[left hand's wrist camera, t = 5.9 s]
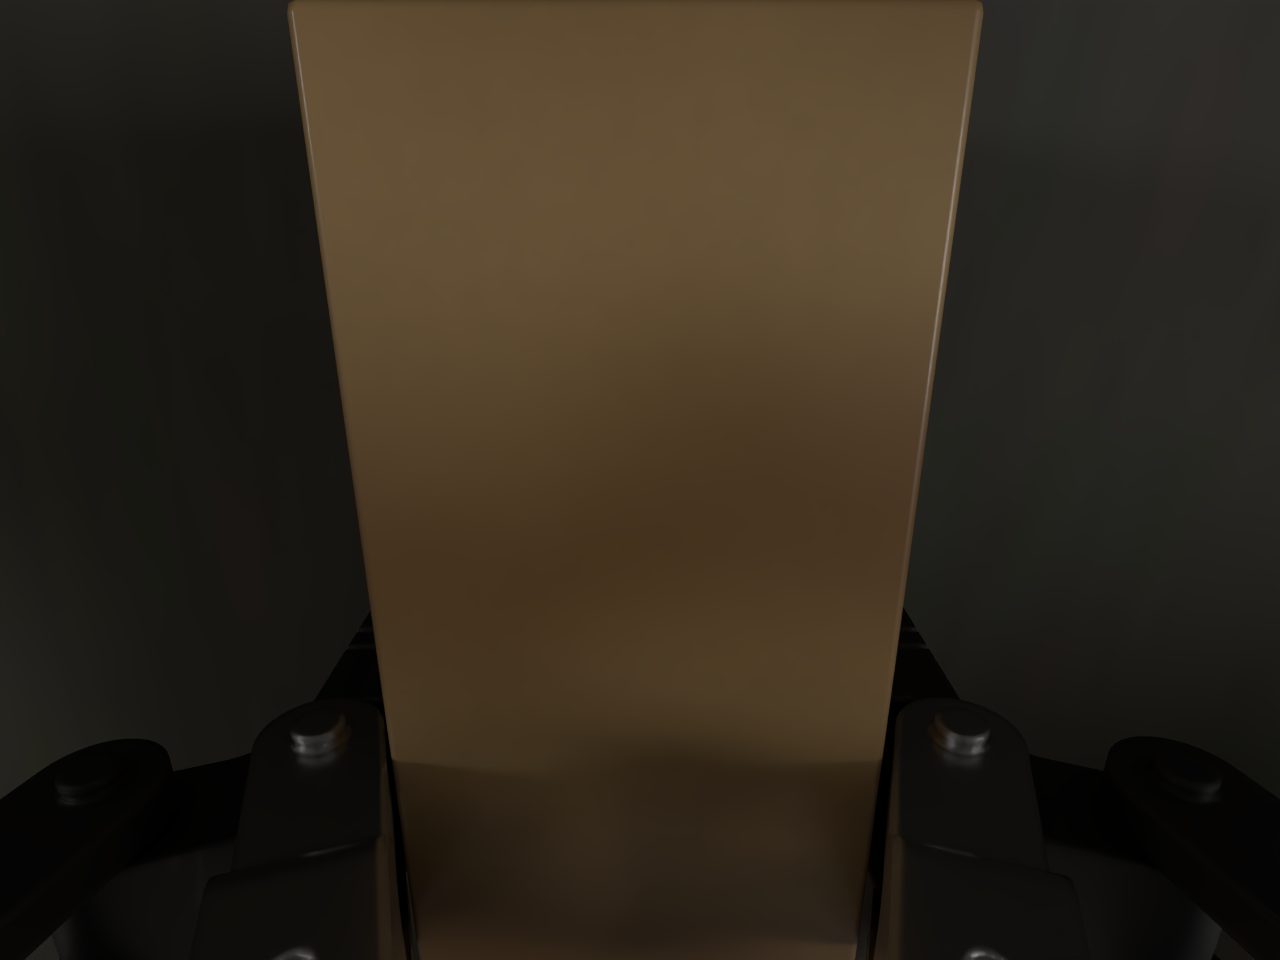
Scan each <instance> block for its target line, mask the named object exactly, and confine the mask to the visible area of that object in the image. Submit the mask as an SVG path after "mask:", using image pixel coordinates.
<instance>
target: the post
mask: <svg viewBox="0 0 1280 960" xmlns="http://www.w3.org/2000/svg"><path fill="white" fill-rule="evenodd" d="M287 15H288V22H289V30H290V37H291V44H292V51H293V58H294V65H295V72H296V80H297V87H298V94H299V101H300V108H301V115H302V122H303V130H304V137H305V144H306V151H307V158H308V165H309V172H310V180H311V187H312V194H313V201H314V208H315V215H316V222H317V230H318V237H319V244H320V251H321V258H322V265H323V272H324V280H325V287H326V294H327V301H328V308H329V315H330V323H331V330H332V337H333V344H334V351H335V358H336V365H337V373H338V380H339V387H340V394H341V401H342V408H343V415H344V423H345V430H346V437H347V444H348V451H349V458H350V465H351V473H352V480H353V487H354V494H355V501H356V508H357V515H358V523H359V530H360V537H361V544H362V551H363V558H364V565H365V573H366V580H367V587H368V594H369V601H370V608H371V615H372V623H373V630H374V637H375V644H376V651H377V658H378V666H379V673H380V680H381V687H382V694H383V701H384V708H385V716H386V723H387V730H388V737H389V744H390V751H391V758H392V766H393V773H394V780H395V787H396V794H397V801H398V808H399V816H400V823H401V830H402V837H403V844H404V851H405V858H406V866H407V873H408V880H409V887H410V894H411V901H412V908H413V916H414V923H415V930H416V937H417V944H418V951H419V958H420V960H855V957H856V950H857V943H858V935H859V928H860V921H861V913H862V906H863V898H864V891H865V884H866V876H867V869H868V862H869V854H870V847H871V839H872V832H873V825H874V817H875V810H876V802H877V795H878V788H879V780H880V773H881V766H882V758H883V751H884V743H885V736H886V729H887V721H888V714H889V707H890V699H891V692H892V684H893V677H894V670H895V662H896V655H897V647H898V640H899V633H900V625H901V618H902V611H903V603H904V596H905V588H906V581H907V574H908V566H909V559H910V552H911V544H912V537H913V529H914V522H915V515H916V507H917V500H918V493H919V485H920V478H921V470H922V463H923V456H924V448H925V441H926V433H927V426H928V419H929V411H930V404H931V397H932V389H933V382H934V374H935V367H936V360H937V352H938V345H939V338H940V330H941V323H942V315H943V308H944V301H945V293H946V286H947V278H948V271H949V264H950V256H951V249H952V242H953V234H954V227H955V219H956V212H957V205H958V197H959V190H960V183H961V175H962V168H963V160H964V153H965V146H966V138H967V131H968V123H969V116H970V109H971V101H972V94H973V87H974V79H975V72H976V64H977V57H978V50H979V42H980V35H981V28H982V20H983V6H982V2H980V1H978V0H294V1H292V2H290V3H289V4H288V11H287Z"/></svg>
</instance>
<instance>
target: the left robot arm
mask: <svg viewBox="0 0 1280 960" xmlns="http://www.w3.org/2000/svg"><path fill="white" fill-rule="evenodd" d="M359 629H360V631H359V632H357V633H356V635H355V636H354V638H353V640H352V641H351V643H350V644H349V650H346V651H345V652H344V654H343V656H342V657H341V659H340V660H339V662H338V664H337V665H336V667H335V668H334V670H333V672H332V673H331V675H330V676H329V678H328V680H327V681H326V683H325V684H324V686H323V688H322V689H321V691H320V692H319V694H318V695H317V697H316V699H315V700H314V701H312V702H309V703H306V704H303V705H300V706H298V707H295V708H293V709H291V710H289V711H287V712H285V713H283V714H282V715H280V716H278V717H277V718H276V719H274V720H273V721H271V722H270V723H269V724H268V725H267V726H266V727H265V728H264V729H263V730H262V731H261V732H260V734H259V735H258V737H257V738H256V740H255V742H254V745H253V748H252V753H249V754H246V755H244V756H241V757H237V758H233V759H230V760H226V761H221V762H216V763H212V764H207V765H202V766H198V767H193V768H188V769H184V770H179V771H174V772H173V769H172V765H171V762H170V758H169V755H168V753H167V751H166V749H165V748H164V747H163V746H161V745H160V744H158V743H156V742H153V741H150V740H144V739H121V740H113V741H108V742H103V743H100V744H96V745H93V746H89V747H87V748H84V749H81V750H78V751H76V752H74V753H71V754H69V755H67V756H65V757H63V758H61V759H59V760H57V761H55V762H54V763H52V764H50V765H49V766H47V767H46V768H44V769H43V770H41V771H40V772H38V773H37V774H35V775H34V776H33V777H31V778H30V779H28V780H27V781H26V782H24V783H23V784H21V785H20V786H19V787H17V788H16V789H14V790H13V791H12V792H10V793H9V794H7V795H6V796H5V797H3V798H2V799H0V960H24V959H26V958H27V957H28V956H29V955H30V954H31V953H32V952H33V951H34V950H35V949H36V948H37V947H38V946H40V945H41V944H42V943H43V942H44V941H45V940H46V939H47V938H48V937H49V936H50V935H52V938H53V940H54V943H55V946H56V949H57V951H58V954H59V957H60V960H414V954H413V941H412V928H411V915H410V902H409V895H408V888H407V881H406V870H407V866H406V858H405V851H404V844H403V837H402V830H401V823H400V816H399V808H398V801H397V794H396V787H395V780H394V773H393V766H392V758H391V751H390V744H389V737H388V730H387V723H386V716H385V708H384V701H383V694H382V687H381V680H380V673H379V666H378V658H377V651H376V644H375V637H374V630H373V623H372V615H371V611H370V612H369V614H368V616H367V617H366V619H365V620H364V622H363V624H362V625H361V627H360V628H359ZM868 871H869V874H870V877H871V880H872V883H873V888H872V895H871V902H870V915H869V928H868V941H867V954H866V960H1220V959H1219V958H1218V957H1217V956H1216V955H1215V954H1214V950H1215V948H1216V945H1217V942H1218V939H1219V936H1220V934H1221V931H1222V929H1223V930H1224V931H1225V932H1226V933H1227V934H1229V935H1230V936H1231V937H1232V938H1233V939H1234V940H1235V941H1236V942H1237V943H1238V944H1239V945H1240V946H1241V947H1243V948H1244V949H1245V950H1246V951H1247V952H1248V953H1249V954H1250V955H1251V956H1252V957H1253V958H1254V959H1256V960H1280V799H1278V798H1277V797H1275V796H1274V795H1273V794H1271V793H1270V792H1268V791H1267V790H1266V789H1264V788H1263V787H1261V786H1260V785H1259V784H1257V783H1256V782H1254V781H1253V780H1252V779H1250V778H1249V777H1247V776H1246V775H1245V774H1243V773H1242V772H1240V771H1239V770H1238V769H1236V768H1235V767H1233V766H1232V765H1230V764H1229V763H1227V762H1225V761H1224V760H1222V759H1220V758H1218V757H1216V756H1215V755H1213V754H1211V753H1208V752H1206V751H1204V750H1202V749H1199V748H1197V747H1194V746H1191V745H1188V744H1185V743H1182V742H1178V741H1175V740H1170V739H1165V738H1158V737H1131V738H1127V739H1124V740H1121V741H1119V742H1117V743H1115V744H1114V745H1113V746H1112V747H1111V748H1110V751H1109V753H1108V756H1107V760H1106V764H1105V768H1104V771H1101V770H1096V769H1091V768H1087V767H1082V766H1077V765H1073V764H1068V763H1063V762H1058V761H1054V760H1049V759H1045V758H1041V757H1037V756H1034V755H1031V754H1029V753H1028V748H1027V745H1026V742H1025V740H1024V738H1023V736H1022V735H1021V733H1020V732H1019V731H1018V730H1017V729H1016V728H1015V727H1014V726H1013V725H1012V724H1011V723H1010V722H1009V721H1007V720H1006V719H1004V718H1003V717H1002V716H1000V715H998V714H997V713H995V712H993V711H991V710H989V709H987V708H985V707H982V706H980V705H977V704H974V703H971V702H968V701H963V700H960V699H959V697H958V695H957V694H956V692H955V690H954V689H953V687H952V686H951V684H950V682H949V681H948V679H947V678H946V676H945V674H944V673H943V671H942V669H941V668H940V666H939V665H938V663H937V661H936V660H935V658H934V656H933V655H932V653H931V652H930V650H929V649H926V643H925V642H924V640H923V639H922V637H921V635H920V634H919V632H916V627H915V626H914V624H913V622H912V621H911V619H910V618H909V616H908V614H907V613H906V611H905V609H904V608H903V611H902V618H901V625H900V633H899V640H898V647H897V655H896V662H895V670H894V677H893V684H892V692H891V699H890V707H889V714H888V721H887V729H886V736H885V743H884V751H883V758H882V766H881V773H880V780H879V788H878V795H877V802H876V810H875V817H874V825H873V832H872V839H871V847H870V854H869V862H868Z"/></svg>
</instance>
